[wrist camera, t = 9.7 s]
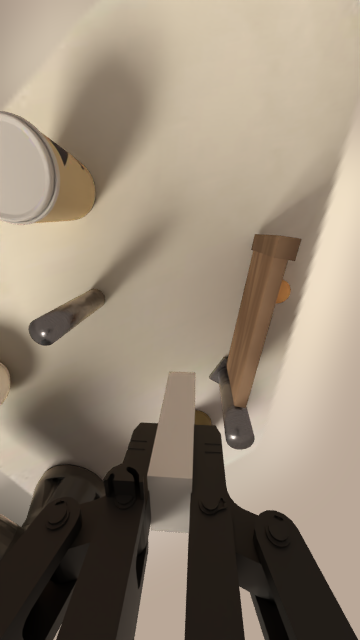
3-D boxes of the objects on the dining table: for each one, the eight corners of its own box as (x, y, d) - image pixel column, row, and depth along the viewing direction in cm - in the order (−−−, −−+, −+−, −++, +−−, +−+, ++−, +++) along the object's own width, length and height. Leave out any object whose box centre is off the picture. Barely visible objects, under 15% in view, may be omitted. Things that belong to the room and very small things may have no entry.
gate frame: (231, 388, 43) (244, 459, 29) (81, 304, 40) (22, 341, 26) (246, 369, 41) (267, 434, 28) (92, 281, 38) (36, 307, 25)
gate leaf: (224, 364, 40) (233, 411, 30) (254, 234, 33) (279, 235, 23) (236, 366, 40) (249, 414, 30) (269, 236, 33) (301, 238, 23)
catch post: (267, 296, 37) (280, 307, 31) (250, 285, 37) (260, 295, 31) (280, 278, 36) (295, 287, 30) (263, 267, 36) (275, 274, 30)
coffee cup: (108, 162, 33) (59, 126, 21) (95, 235, 36) (47, 237, 25) (38, 140, 32) (-48, 91, 21) (32, 214, 36) (-46, 207, 24)
